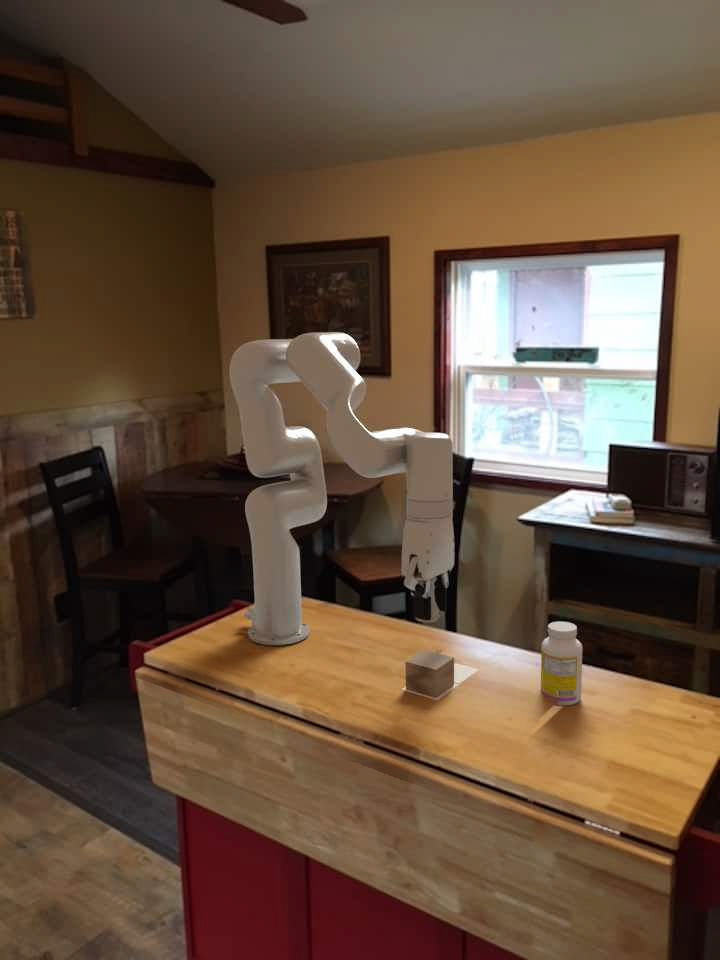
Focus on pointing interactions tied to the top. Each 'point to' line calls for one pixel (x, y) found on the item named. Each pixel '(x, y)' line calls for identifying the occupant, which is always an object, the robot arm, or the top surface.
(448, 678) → the walnut block
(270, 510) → the robot arm
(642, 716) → the top surface
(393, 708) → the top surface
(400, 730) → the top surface
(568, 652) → the supplement bottle
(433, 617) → the rook chess piece
